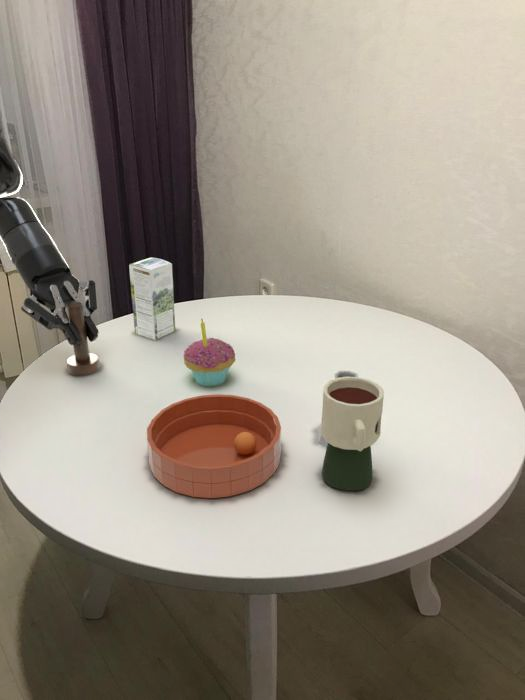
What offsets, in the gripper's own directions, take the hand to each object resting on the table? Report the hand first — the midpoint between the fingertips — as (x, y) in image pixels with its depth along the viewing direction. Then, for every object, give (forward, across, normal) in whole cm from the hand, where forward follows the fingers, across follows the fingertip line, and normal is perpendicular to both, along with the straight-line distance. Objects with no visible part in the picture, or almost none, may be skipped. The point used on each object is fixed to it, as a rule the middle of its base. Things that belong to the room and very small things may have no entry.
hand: (86, 341), depth 98 cm
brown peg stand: (+3, 0, +6) cm, 6 cm away
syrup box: (+1, +18, +8) cm, 20 cm away
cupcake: (+16, +12, -7) cm, 21 cm away
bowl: (+28, -3, -19) cm, 34 cm away
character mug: (+39, +4, -30) cm, 49 cm away
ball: (+28, 0, -22) cm, 36 cm away
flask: (+35, +12, -26) cm, 45 cm away
